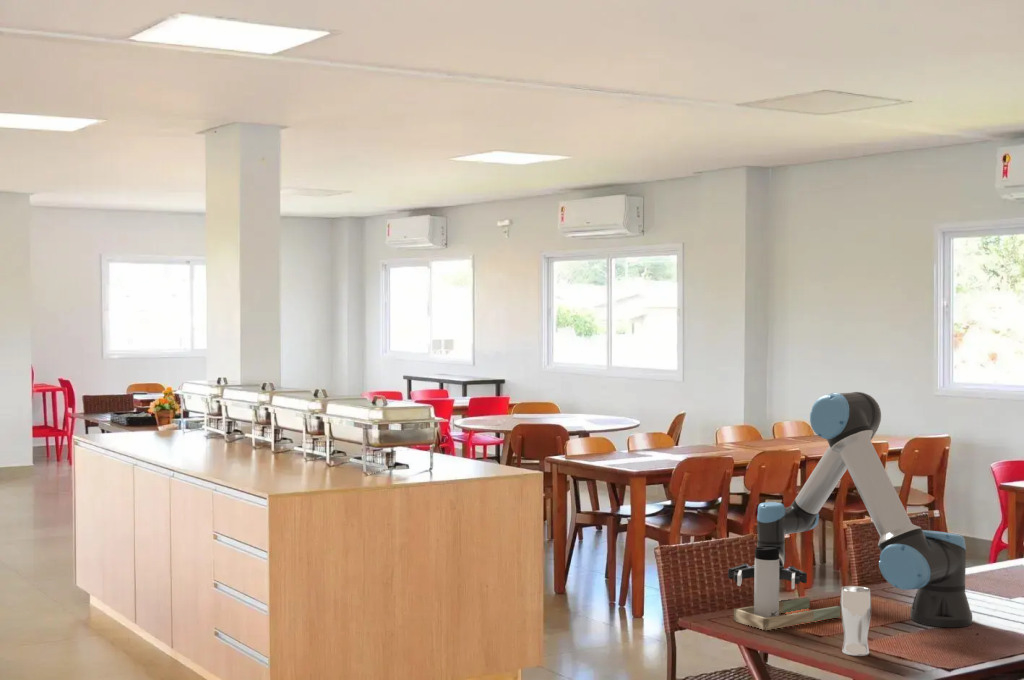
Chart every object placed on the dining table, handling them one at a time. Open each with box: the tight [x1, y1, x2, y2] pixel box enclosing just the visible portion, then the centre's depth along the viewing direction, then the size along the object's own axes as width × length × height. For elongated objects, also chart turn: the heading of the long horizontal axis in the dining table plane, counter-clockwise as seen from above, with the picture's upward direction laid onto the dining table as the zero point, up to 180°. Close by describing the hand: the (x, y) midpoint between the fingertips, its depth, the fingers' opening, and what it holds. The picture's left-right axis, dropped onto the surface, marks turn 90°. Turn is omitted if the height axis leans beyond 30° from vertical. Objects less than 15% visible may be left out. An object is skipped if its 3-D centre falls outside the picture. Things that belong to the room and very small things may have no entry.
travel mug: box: [753, 545, 781, 618], centre depth 300 cm, size 6×7×20 cm
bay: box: [733, 597, 841, 631], centre depth 303 cm, size 12×26×3 cm, turn 120°
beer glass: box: [839, 585, 872, 657], centre depth 273 cm, size 7×7×15 cm
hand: (765, 582), depth 298 cm, fingers open, 13 cm apart
